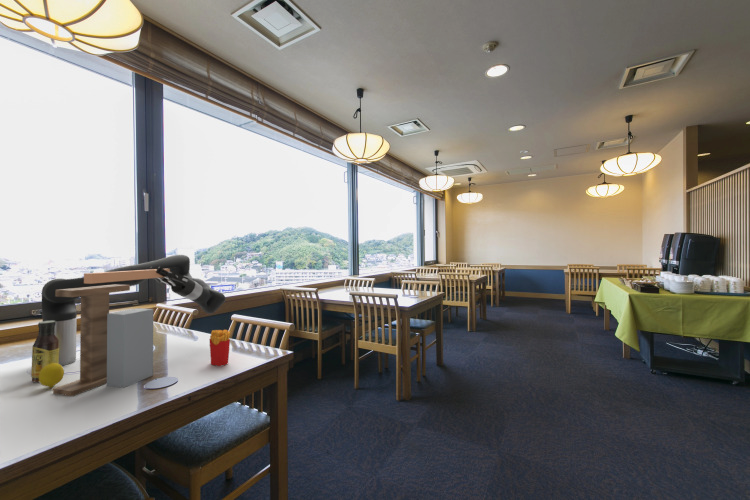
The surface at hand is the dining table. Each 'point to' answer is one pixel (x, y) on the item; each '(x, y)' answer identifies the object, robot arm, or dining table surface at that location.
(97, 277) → the terracotta bar
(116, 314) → the grey rectangular block
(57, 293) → the walnut shelf
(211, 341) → the french fries
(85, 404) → the dining table surface
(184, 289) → the robot arm
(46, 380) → the lemon
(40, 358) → the sauce bottle
